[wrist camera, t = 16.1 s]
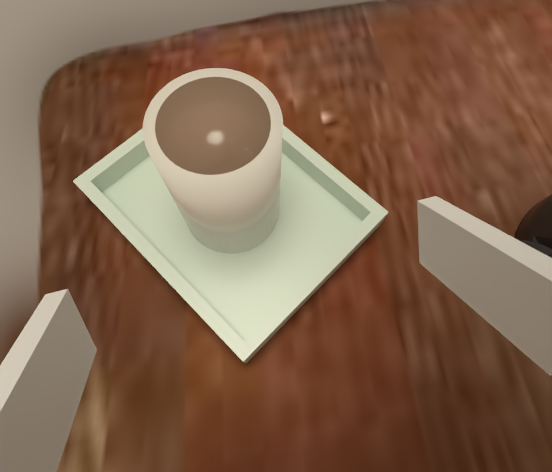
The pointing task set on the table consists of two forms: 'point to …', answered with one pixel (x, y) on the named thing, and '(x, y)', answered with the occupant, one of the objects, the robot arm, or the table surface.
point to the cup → (219, 155)
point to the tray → (249, 264)
